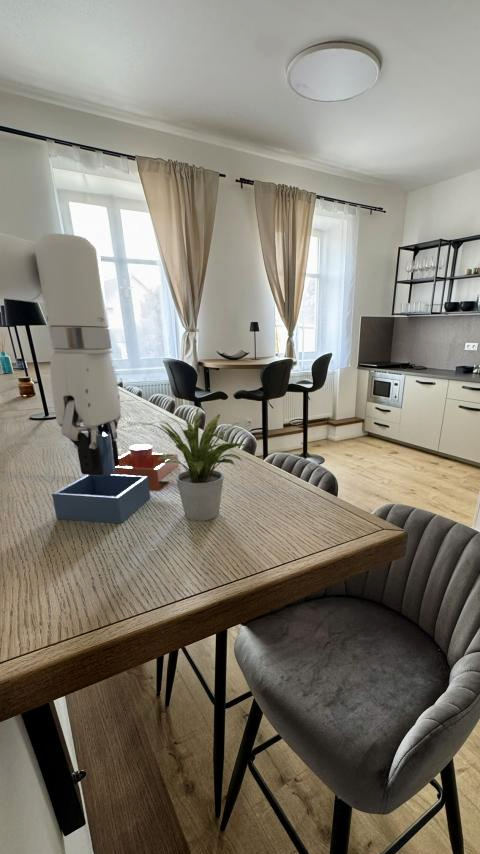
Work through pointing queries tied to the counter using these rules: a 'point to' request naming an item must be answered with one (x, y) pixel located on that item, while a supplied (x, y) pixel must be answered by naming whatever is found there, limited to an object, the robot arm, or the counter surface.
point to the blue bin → (101, 498)
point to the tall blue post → (105, 452)
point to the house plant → (200, 469)
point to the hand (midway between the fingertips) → (101, 468)
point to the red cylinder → (142, 456)
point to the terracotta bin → (148, 470)
